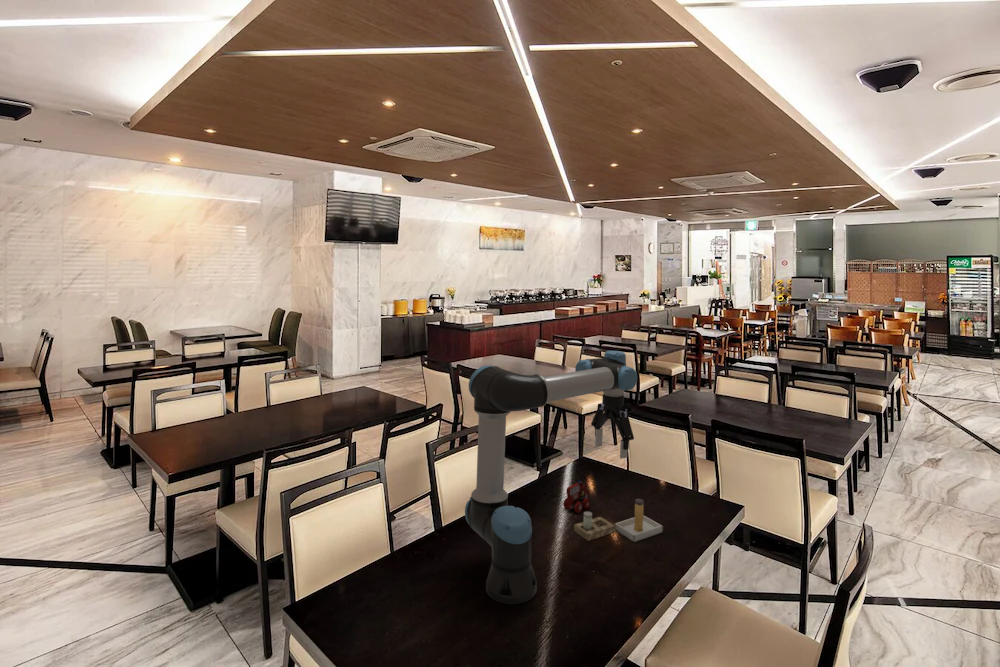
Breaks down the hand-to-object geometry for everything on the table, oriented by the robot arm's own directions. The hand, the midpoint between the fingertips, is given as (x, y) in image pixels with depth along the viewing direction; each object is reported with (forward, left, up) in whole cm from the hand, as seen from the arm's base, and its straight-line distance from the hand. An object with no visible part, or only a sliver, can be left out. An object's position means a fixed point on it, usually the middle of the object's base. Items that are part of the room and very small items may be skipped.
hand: (610, 451), depth 187 cm
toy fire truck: (0, +18, -29) cm, 35 cm away
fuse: (-10, 0, -29) cm, 31 cm away
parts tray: (+8, -7, -29) cm, 31 cm away
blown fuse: (+8, -7, -29) cm, 30 cm away
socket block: (-6, 0, -29) cm, 30 cm away
